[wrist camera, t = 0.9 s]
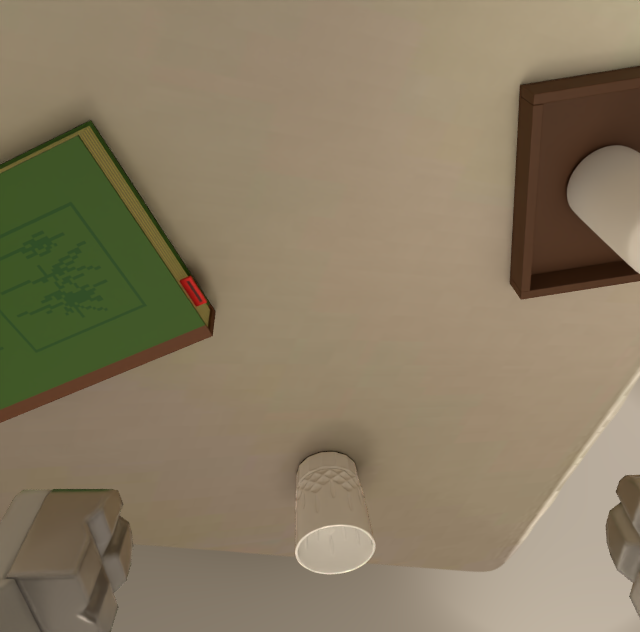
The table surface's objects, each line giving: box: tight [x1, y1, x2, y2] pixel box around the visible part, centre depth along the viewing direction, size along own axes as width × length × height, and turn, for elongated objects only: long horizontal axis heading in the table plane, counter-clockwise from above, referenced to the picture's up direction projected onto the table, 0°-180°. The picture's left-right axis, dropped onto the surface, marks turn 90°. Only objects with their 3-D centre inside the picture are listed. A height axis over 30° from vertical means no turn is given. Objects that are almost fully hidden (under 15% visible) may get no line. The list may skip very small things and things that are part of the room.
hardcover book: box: [0, 120, 215, 423], centre depth 49 cm, size 25×19×4 cm
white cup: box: [295, 452, 375, 574], centre depth 63 cm, size 8×8×10 cm
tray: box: [510, 66, 640, 299], centre depth 49 cm, size 18×15×3 cm
